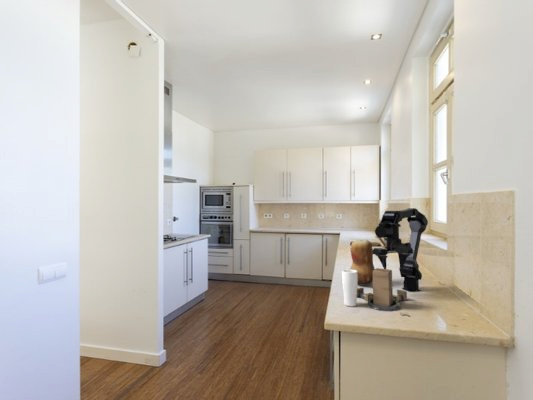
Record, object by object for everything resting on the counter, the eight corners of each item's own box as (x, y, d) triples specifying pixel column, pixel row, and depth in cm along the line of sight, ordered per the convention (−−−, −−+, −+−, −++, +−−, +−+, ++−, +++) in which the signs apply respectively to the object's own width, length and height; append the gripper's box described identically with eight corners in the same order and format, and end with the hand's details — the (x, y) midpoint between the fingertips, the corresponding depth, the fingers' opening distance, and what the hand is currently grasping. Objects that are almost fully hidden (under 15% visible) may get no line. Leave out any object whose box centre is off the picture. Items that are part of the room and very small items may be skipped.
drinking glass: (349, 308, 128) (349, 273, 128) (339, 304, 134) (338, 270, 134) (361, 306, 131) (360, 271, 131) (350, 301, 137) (349, 268, 137)
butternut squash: (345, 283, 170) (344, 238, 171) (365, 281, 174) (364, 237, 175) (360, 289, 157) (359, 241, 157) (381, 287, 161) (380, 240, 162)
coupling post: (377, 301, 135) (376, 268, 136) (392, 304, 132) (392, 269, 132) (373, 305, 130) (372, 270, 130) (389, 308, 126) (388, 272, 127)
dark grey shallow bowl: (386, 299, 139) (386, 296, 139) (406, 309, 126) (406, 305, 126) (361, 302, 136) (361, 299, 136) (379, 312, 123) (378, 308, 123)
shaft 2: (398, 298, 141) (398, 289, 141) (406, 300, 138) (406, 291, 138) (388, 301, 136) (388, 292, 136) (396, 303, 133) (396, 294, 133)
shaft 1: (355, 297, 144) (355, 288, 144) (362, 295, 145) (361, 287, 146) (367, 301, 136) (367, 293, 136) (374, 300, 138) (374, 291, 138)
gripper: (386, 238, 135) (387, 273, 135) (421, 237, 140) (422, 270, 140) (371, 236, 146) (372, 268, 146) (404, 235, 151) (405, 266, 151)
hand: (393, 268), depth 145 cm, fingers open, 9 cm apart
